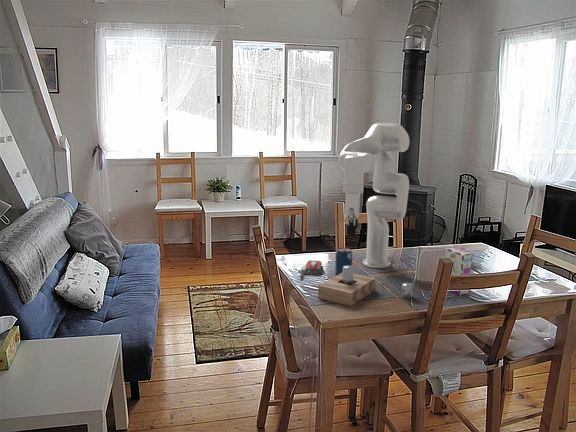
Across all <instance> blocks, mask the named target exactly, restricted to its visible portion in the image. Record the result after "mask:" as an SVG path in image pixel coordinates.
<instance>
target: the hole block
mask: <svg viewBox="0 0 576 432" xmlns="http://www.w3.org/2000/svg"><path fill="white" fill-rule="evenodd" d="M342 278H343V272H342V273H340V274H339V275H337V276H336V275H335V276H334V277H331V278H330V279H328V280H326V281H324V282H322V283H320V284H318V286H317V287H318V290H317V298H318V299H322V300H325V301H330V302H333V303H337V304H341V305H345V306H349V307H352V306H353V305H355V304H356V303H358V302H360V301H361V300H363V299H364V298H366V297H367V296H368V295H370V294H372V293H373V292H375V290H376V278H375V277H372V276H367V275H362V274H358V273H353V284H352V285H346V284H342Z"/></svg>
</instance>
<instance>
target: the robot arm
mask: <svg viewBox="0 0 576 432" xmlns="http://www.w3.org/2000/svg"><path fill="white" fill-rule="evenodd" d="M409 146H410V136H409V133H408V132H407V131H406V129H405V128H404V127H403V126H402V125H401V124H399V123H391V122H390V123H387V122H386V123H385V122H376V123H374V124H372V125H370V127H369V129H368V131H367V132H366V133H365V135H364V137H362V138H359V139H357V140H354V141H352V142H350V143H348V144H346V145H345V146H344V148H343V149H342V150H341V152H340V154H339V155H338V161H337V162H338V163H337V164H338V167H339V169H340V170H342V171H343V188H342V189H343V190H342V191H343V193H345V198H344V199H345V200H344V202H345V203H344V219H345V220H346V219H347V225H346V235H347V236H352V237H353V236H354V237H355V236H356V234H357V231H356V230H357V229H358V227H359V225H358V224H359V220H358V219H359V215H360V214H359V213H360V208H361V207H360V206H361V205H360V204H361V194H362V193H364V183H365V182H364V181H365V179H364V178H365V173H371V172H372V171H373V170H374V172H373V179H372V189H373V191H374V192H375V193H378V194H385V195H395V196H396V197H394V196H385V195H384V196H383V195H373V196H370V197H369V198H368V199H367V200H366V203H365V204H366V215H367V216H366V217H367V231H366V232H367V233H366V256H365V257H366V258H364V259H363V260H362V265H364V266H365V267H368V268H373V269H386V268H389V267H390V266H391V261H390V260H388V257H389V256H390V252H389V251H388V250H389V235H390V234H389V232H390V228H389V224H388V222H387V221H386V219H391V220H402V219H404V218H405V216H406V213H407V207H408V199H409V190H410V179H409V177H408V175H407V174H405V173H399V172H395V165H396V163H395V160H394V158H393V156H392V154H391V153H390V152H392V153H398V152H399V153H403V152H406V151H407V150H408V149H409Z"/></svg>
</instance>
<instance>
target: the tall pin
mask: <svg viewBox="0 0 576 432" xmlns="http://www.w3.org/2000/svg"><path fill="white" fill-rule="evenodd" d="M353 274H354V266H353V265H352V266H350V265H345V266H343V278H342V284H346V285H352V284H353Z"/></svg>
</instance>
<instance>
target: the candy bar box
mask: <svg viewBox="0 0 576 432" xmlns="http://www.w3.org/2000/svg"><path fill="white" fill-rule="evenodd" d="M473 255H474V253H471V252H469V251H466V250H465V251H463V250H461V248H458V247H455V246H453V247H452V246H451V247H445V248H444V256H445V257H448V258H450V259H452V260H453V261H454V267H453V271H452V275H471V276H472V266H473V257H474V256H473ZM444 256H443V257H444ZM451 292H452V293H454V294H456V295H458V296H465V295H466V296H467V295H469V294H470V290H469V291H451Z"/></svg>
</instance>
